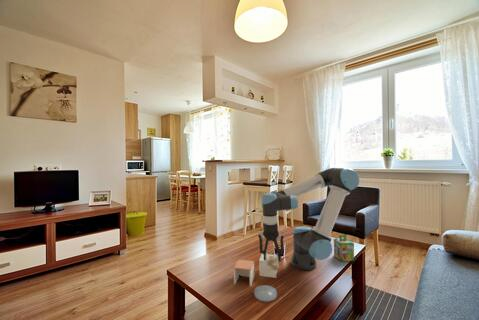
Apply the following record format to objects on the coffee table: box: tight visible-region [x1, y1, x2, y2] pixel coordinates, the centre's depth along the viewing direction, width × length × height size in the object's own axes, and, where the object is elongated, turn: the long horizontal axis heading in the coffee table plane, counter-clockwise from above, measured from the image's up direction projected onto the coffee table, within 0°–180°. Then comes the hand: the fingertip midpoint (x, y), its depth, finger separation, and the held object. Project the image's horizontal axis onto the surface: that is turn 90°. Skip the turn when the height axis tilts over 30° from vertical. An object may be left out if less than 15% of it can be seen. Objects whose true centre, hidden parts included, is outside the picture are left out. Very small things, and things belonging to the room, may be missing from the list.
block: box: [267, 256, 278, 271], centre depth 113 cm, size 5×5×5 cm
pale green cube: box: [258, 253, 278, 279], centre depth 124 cm, size 9×9×9 cm
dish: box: [253, 284, 278, 303], centre depth 104 cm, size 11×11×1 cm
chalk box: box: [333, 234, 355, 262], centre depth 140 cm, size 9×9×15 cm
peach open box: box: [233, 259, 255, 287], centre depth 117 cm, size 9×9×9 cm
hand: (272, 266), depth 113 cm, fingers closed on block, 5 cm apart
